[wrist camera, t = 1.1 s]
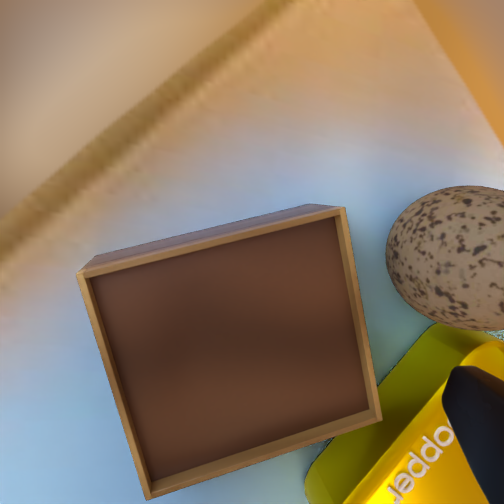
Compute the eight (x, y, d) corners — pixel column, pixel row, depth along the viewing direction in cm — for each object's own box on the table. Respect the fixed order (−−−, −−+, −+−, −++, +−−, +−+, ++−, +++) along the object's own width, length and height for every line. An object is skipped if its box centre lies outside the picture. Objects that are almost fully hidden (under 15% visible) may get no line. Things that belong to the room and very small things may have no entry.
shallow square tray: (343, 378, 26) (383, 420, 21) (150, 440, 24) (146, 501, 19) (310, 203, 24) (345, 206, 19) (94, 255, 22) (75, 273, 17)
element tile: (443, 304, 26) (503, 328, 22) (573, 430, 30) (647, 475, 25) (288, 486, 26) (315, 551, 21) (438, 592, 30) (488, 666, 25)
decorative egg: (408, 161, 25) (565, 143, 15) (488, 231, 26) (675, 255, 17) (337, 261, 25) (448, 308, 15) (421, 324, 26) (570, 402, 17)
